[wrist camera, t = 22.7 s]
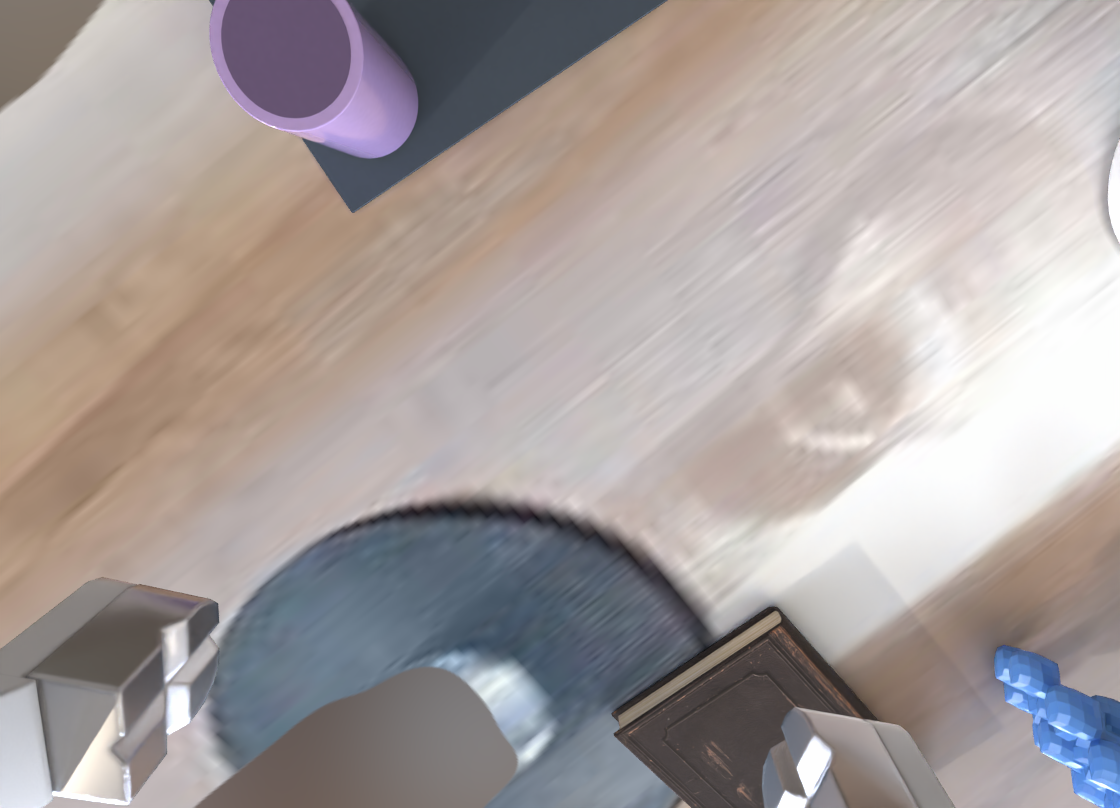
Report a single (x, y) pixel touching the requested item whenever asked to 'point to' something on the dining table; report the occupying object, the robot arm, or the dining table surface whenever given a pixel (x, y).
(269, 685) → the dining table surface
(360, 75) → the lilac tumbler
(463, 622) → the dining table surface
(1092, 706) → the blue knobbly flower shape
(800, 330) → the dining table surface
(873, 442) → the dining table surface
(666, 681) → the hardcover book
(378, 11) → the placemat
